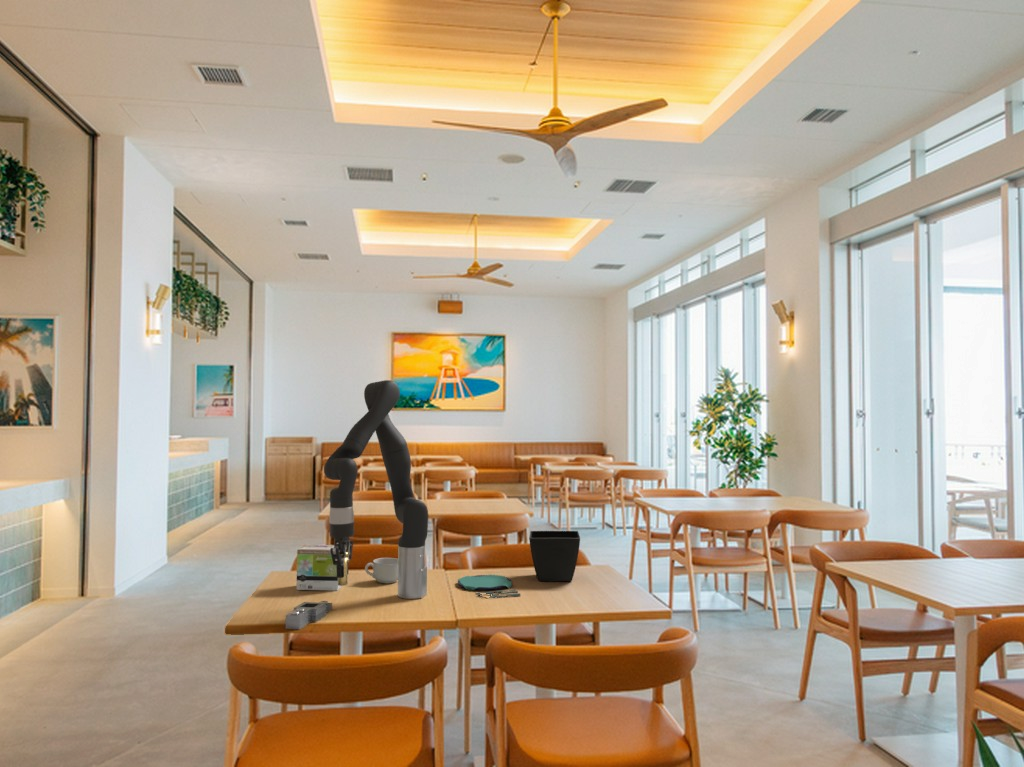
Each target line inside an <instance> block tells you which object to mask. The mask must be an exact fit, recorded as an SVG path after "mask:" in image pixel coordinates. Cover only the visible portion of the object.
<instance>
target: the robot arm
mask: <svg viewBox="0 0 1024 767" xmlns="http://www.w3.org/2000/svg"><path fill="white" fill-rule="evenodd" d="M363 395H364V396H363V397H364V402H365V405H366V407H367V412H366V413H365V414H364V415H363V416H362V417H361V418H360V419H359V420H357V422H356V423H355V424H353V425H352V427H351V429H350V430H349V432H348V433H347V435H346V437H345V439H344V440H343V442H342V444H341V445H340V446H338V447H337V448H336V450H334V452H333V453H332V454H330V456H329V457H328V458H327V460H326V461H325V464H324V468H323V470H324V475H325V477H326V478H327V479H329V480H331V481H339V484H338V486H337V487H334V488H332V489H331V490H330V492H329V493H330V494H329V507H330V508H329V516H328V518H329V537H330V538H333V539H334V542H333V545H334V548H331V549H330V551H331V556H332V561H333V565H336V566H337V578H343V577H344V558H345V557H346V552H348V556H347V576H348V575H349V563H350V560H352V555H353V548H354V541H353V540H350V539H351V537H353V536H354V535H355V514H354V513H355V511H354V502H353V501H354V498H353V496H354V494H353V492H354V490H355V489H354V488H355V485H356V482H357V477H358V471H359V470H358V465H357V463H356V461H355V459H358V458H360V457H361V456H362V455H363V453H364V451H365V450H366V447H367V445H368V443H369V442H370V440H371V438H372V437H373V435H374V434H375V435H376V437H377V441H378V445H379V449H380V453H381V458H382V460H383V466H384V467H385V472H386V476H387V478H388V481H389V482H388V483H389V485H390V490H391V494H392V501H393V509H394V513H395V517H396V519H397V521H398V522H400V523H401V524H402V533H401V536H399V537H398V539H397V540H398V541H397V542H398V546H397V549H398V552H397V557H398V558H397V559H398V580H397V597H398V598H401V599H406V600H407V599H408V600H415V599H423V598H424V597H425V596H427V593H428V592H427V591H428V581H427V580H428V567H427V566H426V540H427V537H428V531H429V530H428V528H429V511H428V506H427V505H426V503H425V502H424V501H422V500H420V499H416V498H415V494H414V491H413V488H412V484H411V471H412V470H411V468H412V460H411V458H412V457H411V455H410V454H411V453H410V451H409V447H408V444H407V441H406V438H405V437H404V436H403V435H402V433H401V432H400V431H399V429H398V428H397V427H396V426H395V424H394V423H393V421H392V420H391V418H390V415H389V413H390V412H391V411H392V410H393V408H394V407H396V405H397V403H398V402H399V400H400V397H401V396H400V395H401V391H400V388H399V385H398V383H396V382H395V381H393V380H389V379H388V380H387V379H385V380H380V381H375V382H370V383H368V384H367V385H366V386H365V388H364V392H363ZM340 554H343V555H340ZM335 559H336V560H335Z"/></svg>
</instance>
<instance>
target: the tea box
mask: <svg viewBox="0 0 1024 767" xmlns="http://www.w3.org/2000/svg"><path fill="white" fill-rule="evenodd" d="M331 548H334V544H328V545H327V544H304V545H302V546H301V547H300V548H298V549H297V551H296V591H331V592H338V591H339V590H340V589H341V587H342V586H339V585H338V578H337V566H336V565H333V561H332V556H331V551H330V549H331ZM335 560H336V559H335Z"/></svg>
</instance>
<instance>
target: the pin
mask: <svg viewBox="0 0 1024 767" xmlns="http://www.w3.org/2000/svg"><path fill="white" fill-rule="evenodd" d="M340 555H343V554H340ZM347 556H348V552H346V557H345V558H344V577H343V578H338V585H339V586H341V587H344V586H348V585H349V584H348V575H347Z"/></svg>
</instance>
